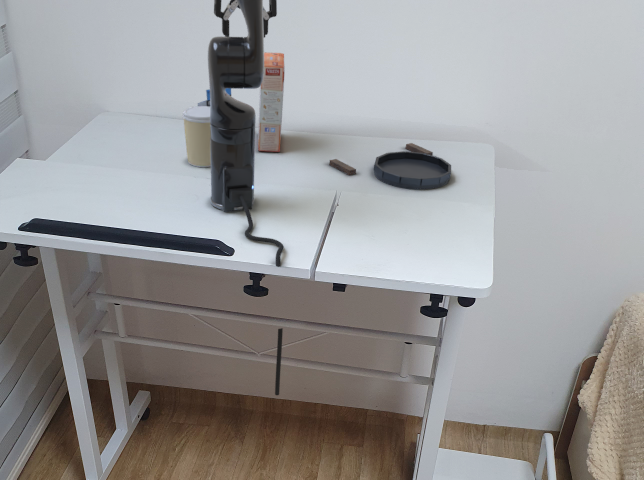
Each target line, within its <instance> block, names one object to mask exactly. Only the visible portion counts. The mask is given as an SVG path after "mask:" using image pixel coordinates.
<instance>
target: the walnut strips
mask: <svg viewBox="0 0 644 480" xmlns="http://www.w3.org/2000/svg"><path fill="white" fill-rule="evenodd" d="M405 149H406V150H408V151H409V152H418V153H424V154H425V153H426V154H429V155H432V156H434V152H433V151H431V150H430V149H427V148H424V147H422V146H419V145H418V144H415V143H413V142H410V143H406V144H405ZM328 166H331V167H332V168H334V169H336V170H338V171H340V172H342V173H344V174H346V175H347V176H353V175H357V168H355V167H353V166H351V165H349V164H347V163H346V162H344V161H341V160H339V159H337V158H333V159H329V162H328Z"/></svg>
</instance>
